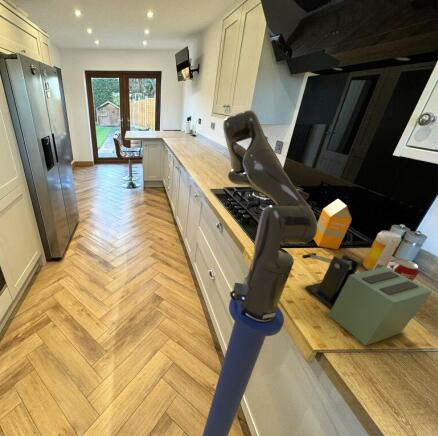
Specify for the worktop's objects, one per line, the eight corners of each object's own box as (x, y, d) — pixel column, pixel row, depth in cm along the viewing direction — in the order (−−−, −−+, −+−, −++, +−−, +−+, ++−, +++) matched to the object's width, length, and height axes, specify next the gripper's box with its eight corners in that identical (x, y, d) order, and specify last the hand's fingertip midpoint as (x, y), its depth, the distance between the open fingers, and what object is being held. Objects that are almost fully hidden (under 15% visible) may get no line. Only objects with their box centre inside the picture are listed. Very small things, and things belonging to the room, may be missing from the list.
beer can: (375, 264, 92) (394, 231, 86) (386, 274, 87) (407, 239, 80) (358, 262, 93) (375, 229, 87) (368, 271, 88) (387, 237, 81)
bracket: (304, 288, 78) (320, 251, 72) (322, 284, 81) (339, 248, 74) (334, 311, 70) (355, 272, 63) (353, 306, 72) (375, 267, 66)
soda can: (407, 299, 76) (428, 269, 70) (388, 299, 75) (407, 269, 70) (386, 284, 82) (404, 256, 76) (368, 285, 81) (385, 256, 76)
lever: (302, 259, 80) (302, 252, 80) (313, 257, 81) (313, 250, 81) (343, 271, 68) (343, 262, 67) (355, 268, 69) (355, 260, 69)
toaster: (328, 315, 69) (349, 274, 62) (361, 305, 72) (385, 265, 66) (365, 345, 60) (395, 301, 53) (401, 333, 64) (433, 290, 57)
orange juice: (317, 246, 103) (335, 204, 94) (311, 236, 111) (327, 196, 102) (338, 249, 101) (358, 207, 92) (330, 239, 109) (348, 199, 100)
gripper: (252, 175, 92) (285, 189, 78) (281, 174, 96) (317, 186, 82) (248, 193, 95) (279, 209, 81) (276, 191, 99) (310, 206, 85)
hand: (298, 197), depth 82 cm, fingers open, 8 cm apart
